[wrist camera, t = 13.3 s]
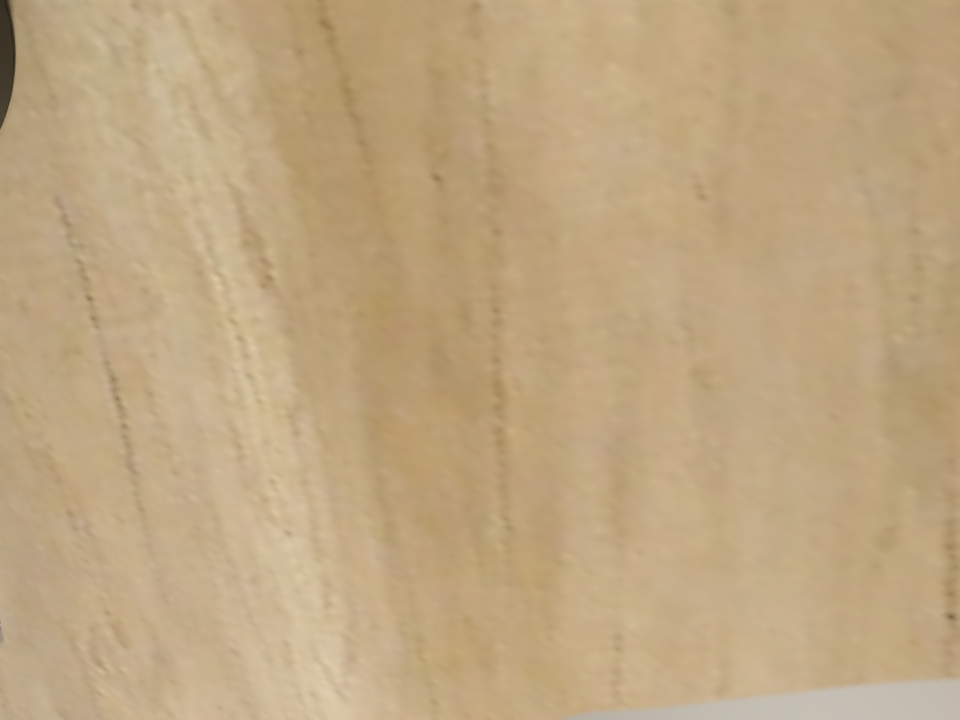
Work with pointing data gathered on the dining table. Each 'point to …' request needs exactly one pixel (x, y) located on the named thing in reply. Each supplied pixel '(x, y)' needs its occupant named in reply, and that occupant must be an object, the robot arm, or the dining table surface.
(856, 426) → the dining table surface
